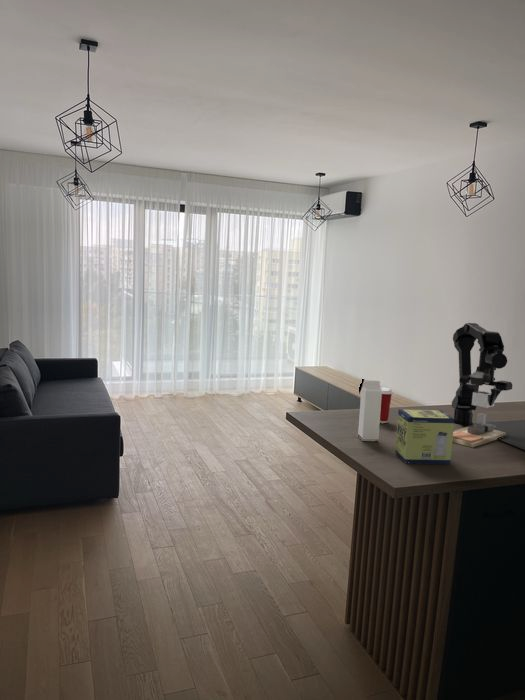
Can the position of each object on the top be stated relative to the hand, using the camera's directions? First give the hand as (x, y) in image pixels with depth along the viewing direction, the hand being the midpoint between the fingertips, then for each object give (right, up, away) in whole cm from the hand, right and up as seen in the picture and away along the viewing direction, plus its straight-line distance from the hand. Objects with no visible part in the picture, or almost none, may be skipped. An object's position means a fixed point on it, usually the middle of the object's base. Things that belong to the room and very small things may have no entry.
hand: (482, 404), depth 207 cm
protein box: (-33, -15, -30) cm, 47 cm away
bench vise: (0, -11, +2) cm, 11 cm away
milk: (-47, -12, -11) cm, 49 cm away
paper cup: (-36, -9, +15) cm, 41 cm away
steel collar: (0, -1, 0) cm, 0 cm away
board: (-4, -13, -2) cm, 13 cm away
